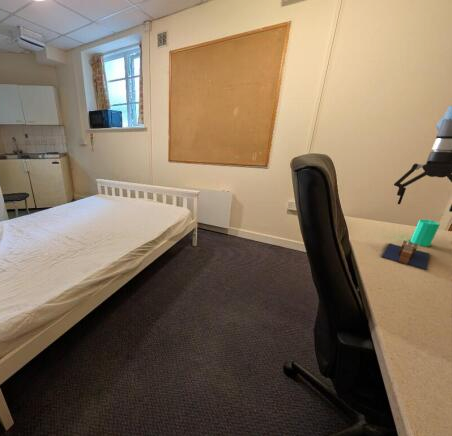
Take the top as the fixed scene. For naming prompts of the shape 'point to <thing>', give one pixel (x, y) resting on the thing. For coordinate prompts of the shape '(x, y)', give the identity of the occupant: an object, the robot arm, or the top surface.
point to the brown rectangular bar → (407, 251)
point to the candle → (425, 232)
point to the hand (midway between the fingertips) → (423, 207)
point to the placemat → (417, 261)
